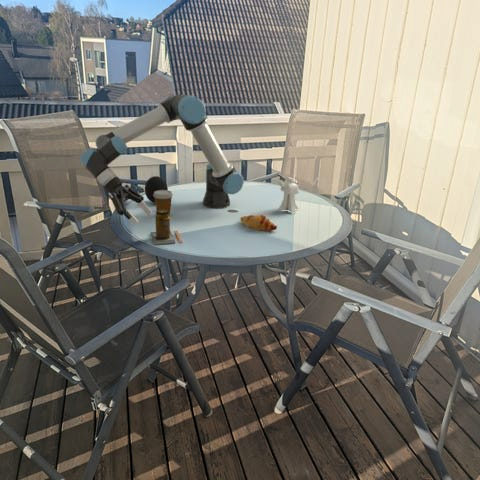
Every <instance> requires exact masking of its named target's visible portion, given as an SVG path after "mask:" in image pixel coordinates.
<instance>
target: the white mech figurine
mask: <svg viewBox="0 0 480 480" xmlns="http://www.w3.org/2000/svg"><path fill="white" fill-rule="evenodd" d="M277 181H278V185H279V186H280V189H279V190H280V191H281V192H283V197H282V198H283V199H282V200H281V204H280V205H279V207H278V208H277V211H278V210H279V211H282V210H289V211H291V212H295V213H296V210H295V209H298V210H299V207H298V206H297V205H298V204H297V203H296V198H295V197H296V196H295V195H298V194H299V193H300V189H299V182H298V181H297V179H295V178H292V177H289V176H288V177H286V178H285V180H284V181H283V180H281V179H278V180H277Z"/></svg>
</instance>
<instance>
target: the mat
mask: <svg viewBox="0 0 480 480" xmlns="http://www.w3.org/2000/svg"><path fill="white" fill-rule="evenodd" d="M154 234H156V231H151V232H150V236H151V238H152V239H151V241H152V242H153V245H154V246H163V245H173V244H174V245H175V244H176V241H175V237H174V235H173V234H172V231H171V230H170V235H171V236H172V237H173V239H174V240H168V241H157V240H156V238H155V237H154V236H153V235H154Z"/></svg>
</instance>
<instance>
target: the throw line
mask: <svg viewBox="0 0 480 480" xmlns="http://www.w3.org/2000/svg"><path fill="white" fill-rule="evenodd" d="M174 233H175V235H176V238H177V240H178V242H179V244H183V239H182V238H181V235H180V233H179V230H174Z"/></svg>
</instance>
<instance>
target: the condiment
mask: <svg viewBox="0 0 480 480" xmlns="http://www.w3.org/2000/svg"><path fill="white" fill-rule="evenodd" d="M168 213H169V212H168V210H165V209H160V210H156V211H155V214H156V216H155V232H156V234H154V235H153V236H154V237H155V238H156V240H157V241H168V240H175V238H174V236H173V237H172V236H171V235H170V231H171V227H170V225H171V224H170V223H171V218H170V216H169V214H168ZM173 238H174V239H173Z"/></svg>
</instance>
